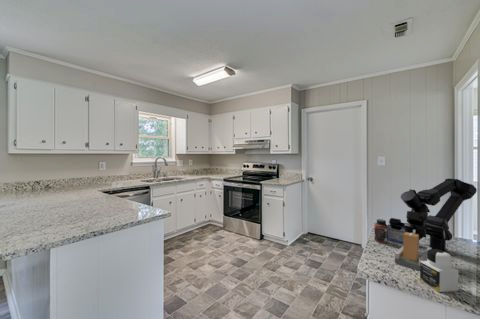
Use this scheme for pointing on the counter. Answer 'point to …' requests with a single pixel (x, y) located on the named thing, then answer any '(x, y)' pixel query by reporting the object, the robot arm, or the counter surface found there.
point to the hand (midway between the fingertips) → (411, 245)
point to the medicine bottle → (439, 271)
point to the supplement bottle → (381, 231)
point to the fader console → (410, 263)
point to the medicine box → (395, 234)
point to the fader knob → (411, 246)
